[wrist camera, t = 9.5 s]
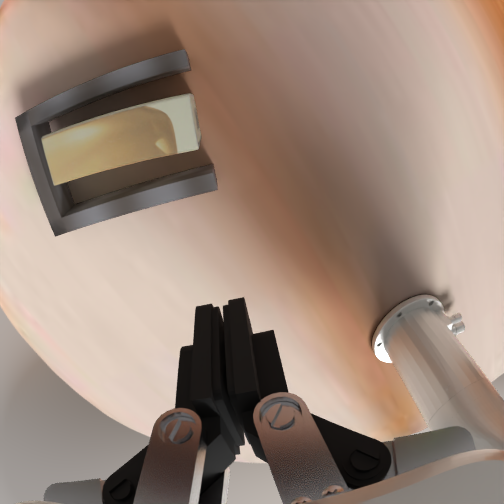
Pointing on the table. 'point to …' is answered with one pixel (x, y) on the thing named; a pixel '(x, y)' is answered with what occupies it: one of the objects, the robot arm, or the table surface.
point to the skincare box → (123, 138)
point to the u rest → (121, 201)
